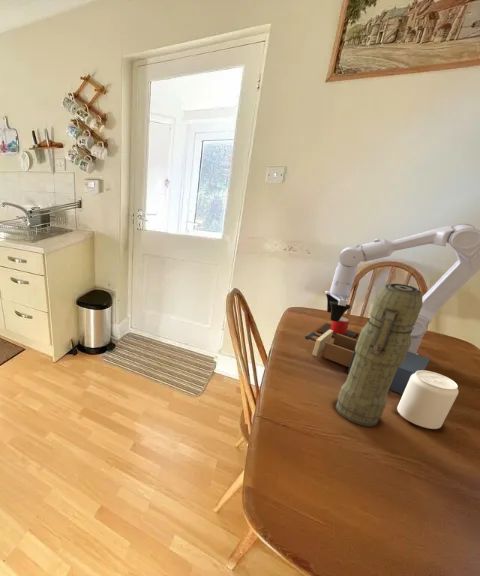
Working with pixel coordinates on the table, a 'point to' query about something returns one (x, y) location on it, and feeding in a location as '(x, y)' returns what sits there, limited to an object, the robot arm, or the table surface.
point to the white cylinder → (427, 399)
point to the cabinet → (405, 370)
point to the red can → (340, 326)
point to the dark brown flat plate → (328, 326)
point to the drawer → (334, 347)
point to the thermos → (379, 353)
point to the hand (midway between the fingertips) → (332, 316)
